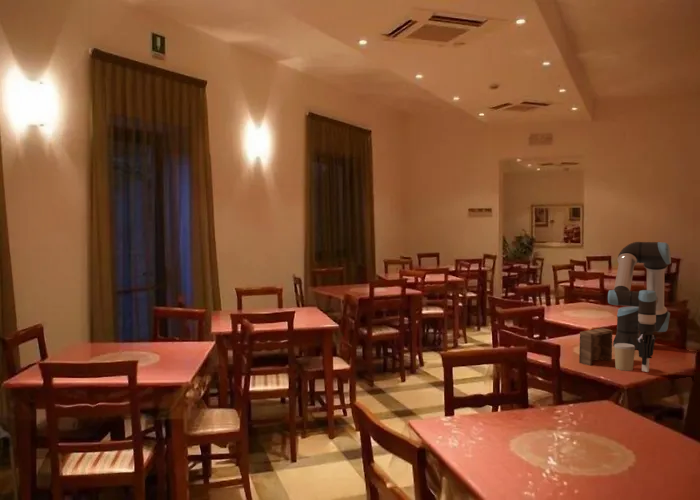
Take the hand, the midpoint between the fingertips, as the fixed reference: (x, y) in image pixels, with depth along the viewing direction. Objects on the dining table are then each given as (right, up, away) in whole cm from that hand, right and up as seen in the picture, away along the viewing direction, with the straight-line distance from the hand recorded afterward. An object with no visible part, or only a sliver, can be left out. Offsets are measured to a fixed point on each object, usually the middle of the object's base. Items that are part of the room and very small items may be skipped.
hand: (645, 371), depth 267 cm
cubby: (-14, 0, +23) cm, 27 cm away
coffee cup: (-6, -1, +9) cm, 11 cm away
